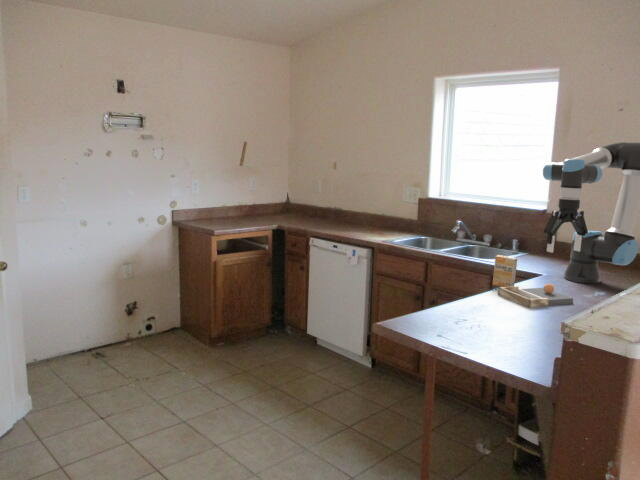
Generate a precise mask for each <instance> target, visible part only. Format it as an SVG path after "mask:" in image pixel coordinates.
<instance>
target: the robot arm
mask: <svg viewBox="0 0 640 480" xmlns="http://www.w3.org/2000/svg"><path fill="white" fill-rule="evenodd" d="M606 168H607V169H621V173H622V175H623V178H622V183H621V187H620V190H619V194H618V197H617V201H616V205H615V209H614V212H613V217H612V220H611V223H610V224H611V225H610V228H608V229H607V230H605V232H604V235H603V232H602V231H600V230H588V227H587V224H586V220H585V212H584V210H579V209H580V204H581V200H580V199H581V198H582V197H581V196H582V187H583V184H591V185H592V184H596V183H597V182H599V181H600V180H601V179H602V177H603V169H606ZM542 176H543V178H544V179H545V180H546V181H551V182H561V183H560V189H559V190H560V191H559V197H560V198H559V199H558V206H557V207H558V209H559V210H552V212H551V216H550V218H549V219H548V222H547V224H546V225H545V227H544V230H543V232H542V234H545V236H546V245H547V246H546V252H548V253H551V254H552V253H553V254H554V249H555V248H554V246H555V240H556V236H555V234H556V233H557V231H558V230H559V229H560V228H561V227H562V225H563V224H565V223H571V225H572V227H573V228H574V229H573V230H574V231H575V232H574V233H573V235H572V240H571V250H570V257H569V263H568V265H567V267H566V269H565V271H564V273H563V278H564V279H565V280H567V281H570V282H574V283H575V282H576V283H580V284H599V283H600V282H601V276H600V271H599V266H598V265H599V262H602V263H609V264H612V265H615V266H617V265H618V266H627V265H630V264H631V263H633V261H634V259H636V256H637V254H638V250H639V247H638V246H639V243H638V242H637V241H636V240H635V238H636V236H635V235H634V233H633V230H634V227H635V222H636V220H637V215H638V211H639V208H640V142H624V141H623V142H621V141H620V142H615V143H612V144H611V143H610V144H607V145H604V146H601V147H597V148H596V149H594V150H593V151H592V152H588V153H586V154H583V155H579V156H576V157H573V158H566V159H564V160H563V161H560V162H554V161H553V162H547V163H546V164H544V166H543V169H542Z"/></svg>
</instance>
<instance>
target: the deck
mask: <svg viewBox="0 0 640 480" xmlns="http://www.w3.org/2000/svg"><path fill="white" fill-rule="evenodd" d="M518 294H519V295H521V296H524V297H526V298H529V299H536V298H549V299H548V306H554V305H566V304H567V305H568V304H573V303H574V298H573V297H571V296H568V295H565V294H562V293H560V292H557V291H555V290H554V291H553V292H552V293H550V294H548V293H545V292H544V290H543V287H533V288H519V289H518Z"/></svg>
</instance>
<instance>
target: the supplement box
mask: <svg viewBox="0 0 640 480" xmlns="http://www.w3.org/2000/svg"><path fill="white" fill-rule="evenodd" d="M494 259H495V260H494V266H493V267H494V269H493V275H492V276H493V277H492V286H495V287H512V286H515V281H516V275H517V274H516V272H517V266H518V265H517V264H518V259H519V258H518V257H513V256H507V255H501V254H497V255H495V258H494Z"/></svg>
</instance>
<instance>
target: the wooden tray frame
mask: <svg viewBox="0 0 640 480" xmlns="http://www.w3.org/2000/svg"><path fill="white" fill-rule="evenodd" d="M518 289H520V288H519V286H518V285H517V286H516V285H514V286H512V287H500V286H498V290H497V291H498V292H497V295H499V296H501V297H503V298H506V299H508V300H510V301H512V302H515V303H516V304H519V305H522V306H524V307H527V308H539V307H548V306H549V305H548V299H549V298H536V299H529V298H527V297H524V296H522V295H519V294H518Z"/></svg>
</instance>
